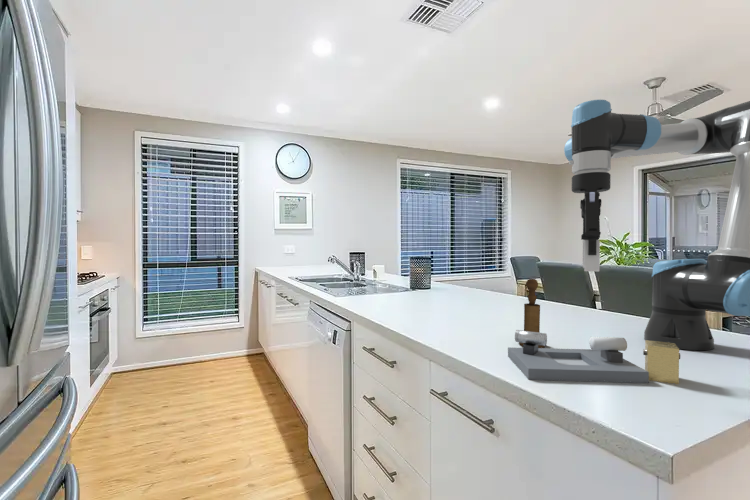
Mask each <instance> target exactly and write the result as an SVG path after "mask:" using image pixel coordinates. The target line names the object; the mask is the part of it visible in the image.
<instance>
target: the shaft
mask: <svg viewBox="0 0 750 500" xmlns="http://www.w3.org/2000/svg"><path fill="white" fill-rule="evenodd" d="M514 341H515V343H519V342H521V343H525V344H523V346H522V348H523V354H529V355H535V354H536V353H537V352H538V345H542V346H545V347H546V346H547V345H548V344H547V343H548V335H547V333H546V332H540V333H539V332H531V331H524V329H523V330H521V329H515V332H514Z"/></svg>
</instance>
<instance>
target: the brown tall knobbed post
mask: <svg viewBox="0 0 750 500" xmlns="http://www.w3.org/2000/svg"><path fill="white" fill-rule="evenodd" d="M525 282H526V283H525V286H526V288H527V290H528V295H527V300H528V303H524V306H523V307H524V308H523V309H524V313H523V314H524V315H523V331H531V332H539V333H541V332H540V331H541V330H540V328H541V327H540V326H541V324H540V323H541V320H540V319H541V304H538V303H536V301H537V294H536V291H537V289H538V287H539V283H538V280H537V279H536V278H528V279H527V281H525ZM523 344H525V343H521V342H518V345H519V346H521V347H523ZM538 348H546V346H542V345H538Z"/></svg>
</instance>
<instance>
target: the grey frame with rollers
mask: <svg viewBox="0 0 750 500" xmlns="http://www.w3.org/2000/svg"><path fill="white" fill-rule="evenodd" d="M588 343H589V347H590V349H587V348H586V349H585V348H554V347H552V348H546V347H544V348H538V352H537V353H536V354H535V355H529V354H523V347H509V346H508V347H507V358H509V359H510V361H511V362H512V364H514V365H515V366H516V367H517V369H519V371H520V370H521V371H520V372H521V373H522V374H523V375H524V376H525V377H526V378H527V380H538V381H539V380H541V381H571V382H573V381H575V382H598V383H599V382H605V383H636V384H637V383H639V384H649V382H650V380H649V372H648V371H646V370H645V368H642V367H640V366H639V365H637V364H635V363H633V362H630V361H629V360H628V359H625V358H624V353H623V352H625V351H626V350H628V341H627V339H626V338H625V337H615V336H613V337H610V336H607V337H606V336H602V337H601V336H590V338H589V342H588ZM622 351H623V352H622Z"/></svg>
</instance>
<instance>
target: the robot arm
mask: <svg viewBox="0 0 750 500" xmlns="http://www.w3.org/2000/svg"><path fill="white" fill-rule="evenodd" d="M611 105H612V104H611V102H610V101H608V100H606V99H592V100H591V99H590V100H587V101H584V102H581V103H579V104H577V105H576V106H574V108H573V110H572V116H571V125H570V127H571V137H570V138H569V139H568V140H567V141H566V143H564V149H563V151H564V157H565V158H566V159H567V161H568V165H571V166H572V167H571V173H572V174H573V176H572V177H571V191H572V193H574V194H584V198H583V199H580V201H579V202H580V204H579V205H580V207H579V208H580V211H581V218H582V234H581V236H580V238H581V239H580V240H582V268H583V269H584V270H583V271H584V272H596V273H598V272H600V268H601V267H600V264H601V263H600V262H601V261H600V259H601V257H600V254H601V253H600V247H601V245H600V243H601V241H600V238H601V234H602V232H601V226H600V216H601V211H602V209H601V207H602V198H600V195H601V194H600V193H604V192H607V191H610V189H611V174H610V173H609V171H611V169H612V159H617V158H618V159H619V158H627V157H629V158H631V157H639V156H648V155H649V156H650V155H659V154H660V155H661V154H669V153H671V154H672V153H678V154H680V155H685V156H687V155H688V156H691V155H701V154H702V155H705V154H724V153H731V154H732V155H733V156H734V157H735V159H736V160H735V164H734V169H733V173H732V179H731V183H730V189H729V191H728V193H729V194H728V197H727V203H726V208H725V213H724V217H723V222H722V227H721V232H720V236H719V242H718V247H717V249H716V250H714V251H712V252H711V253H710V254H708V256H707V260H706V259H704V258H682V259H671V260H670V259H669V260H667V259H666V260H660V261H657V262H655V263H654V264H653V266H652V273H651V306H652V307H651V314H650V317H649V319H648V322H647V323H646V327H645V329H644V334H643V336H644V337H643V339H644V341H645V340H649V341H658V342H668V343H675V344H676V345H677V347H678V348H679V350H689V351H710V350H711V351H712V350H713V349H714V348H715V339H714V337H713V334H712V331H711V328H710V326H709V323H708V320H707V319H706V318H707V317H706V316H707V314H706V311H709V312H715V313H723V314H729V315H732V316H735V317H742V316H743V317H748V318H749V317H750V100H748V101H746V102H742V103H738V104H736V105H733V106H729V107H726V108H723V109H720V110H718V111H714V112H712V113H708V114H706V115H703V116H699V117H693V118H692V117H691V118H686V119H684V120H682V121H681V122H679V123H671V124H670V123H666V124H662V123H661V122H660V120H659V119H658V118H657V117H655V116H652V115H645V114H630V113H629V114H628V113H627V114H626V113H617V112H612V110H613V109H612V106H611Z"/></svg>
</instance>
